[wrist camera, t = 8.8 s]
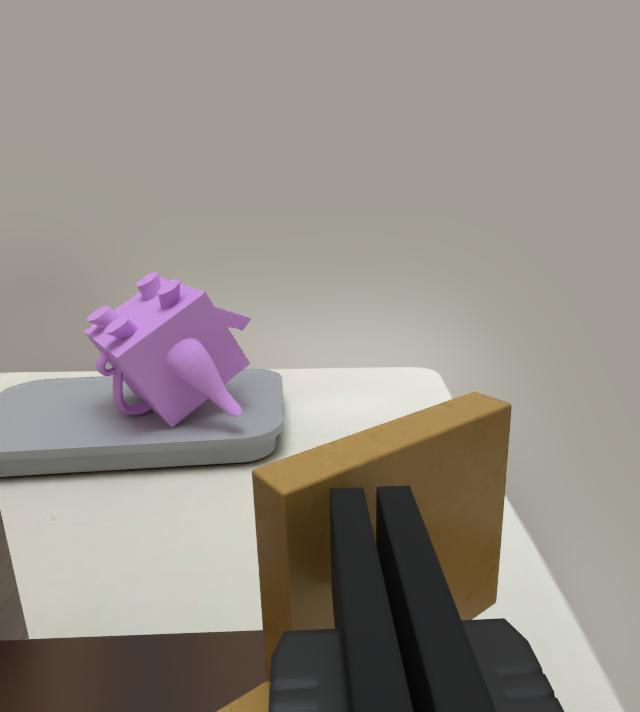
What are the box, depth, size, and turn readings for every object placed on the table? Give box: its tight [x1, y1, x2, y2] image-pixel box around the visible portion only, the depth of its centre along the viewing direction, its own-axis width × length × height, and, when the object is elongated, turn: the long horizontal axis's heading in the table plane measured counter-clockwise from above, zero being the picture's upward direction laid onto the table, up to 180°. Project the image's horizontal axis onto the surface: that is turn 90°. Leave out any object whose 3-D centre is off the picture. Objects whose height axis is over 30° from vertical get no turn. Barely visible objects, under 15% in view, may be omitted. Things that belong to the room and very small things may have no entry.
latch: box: [217, 392, 511, 712], centre depth 14 cm, size 13×3×7 cm, turn 126°
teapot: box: [85, 272, 251, 427], centre depth 45 cm, size 18×13×10 cm
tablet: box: [0, 369, 283, 477], centre depth 47 cm, size 16×26×2 cm, turn 94°
